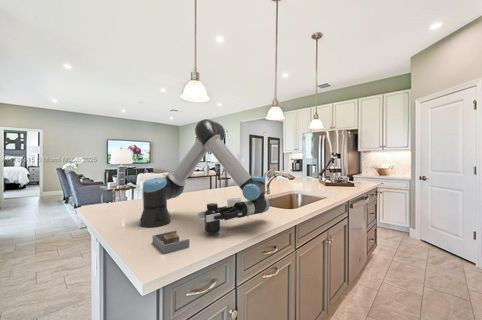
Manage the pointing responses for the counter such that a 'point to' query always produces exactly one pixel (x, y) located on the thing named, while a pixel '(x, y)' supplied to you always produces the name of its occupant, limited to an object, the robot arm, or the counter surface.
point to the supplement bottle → (213, 225)
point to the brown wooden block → (170, 238)
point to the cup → (233, 201)
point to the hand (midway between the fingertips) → (202, 217)
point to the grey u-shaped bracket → (169, 247)
